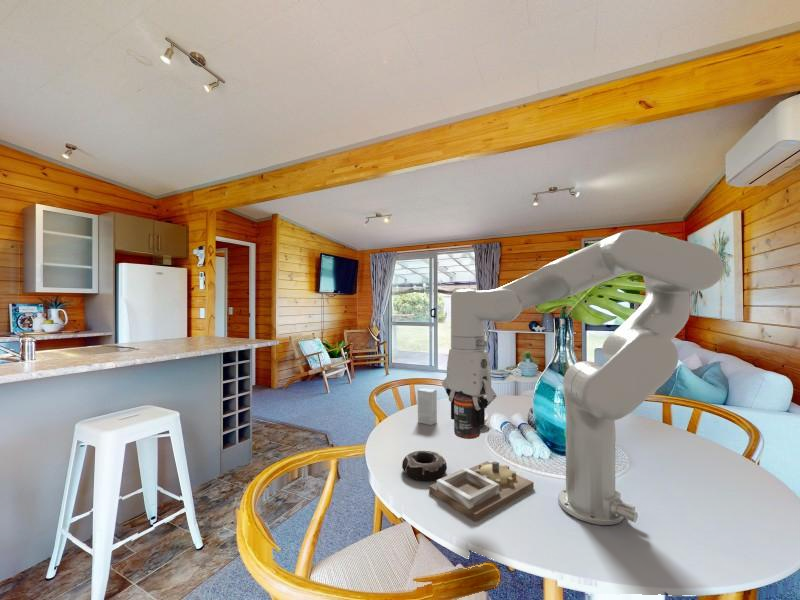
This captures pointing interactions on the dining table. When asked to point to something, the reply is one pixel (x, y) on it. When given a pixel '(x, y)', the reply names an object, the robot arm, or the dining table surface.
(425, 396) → the skincare box
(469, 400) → the supplement bottle
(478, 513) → the gear board
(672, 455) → the dining table surface
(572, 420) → the robot arm
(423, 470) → the donut
